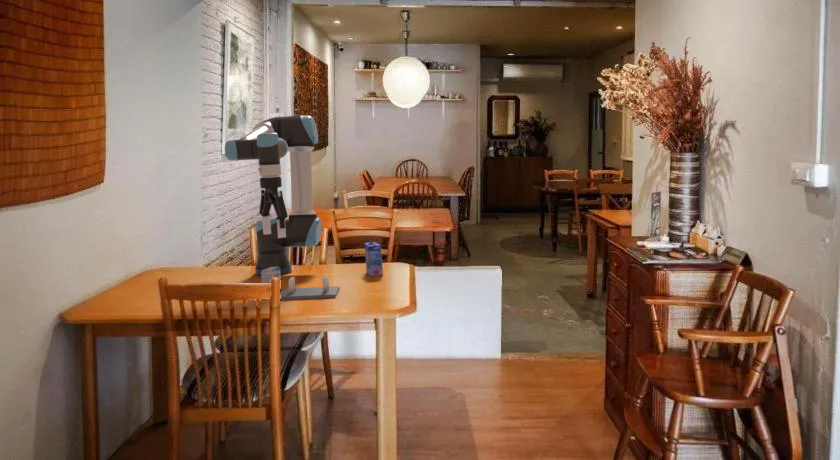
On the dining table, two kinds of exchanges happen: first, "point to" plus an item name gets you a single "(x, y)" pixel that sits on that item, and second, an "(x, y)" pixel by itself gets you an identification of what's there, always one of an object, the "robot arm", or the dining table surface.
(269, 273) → the medicine box
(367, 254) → the ink cartridge box
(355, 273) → the dining table surface
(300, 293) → the cradle
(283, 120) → the robot arm
